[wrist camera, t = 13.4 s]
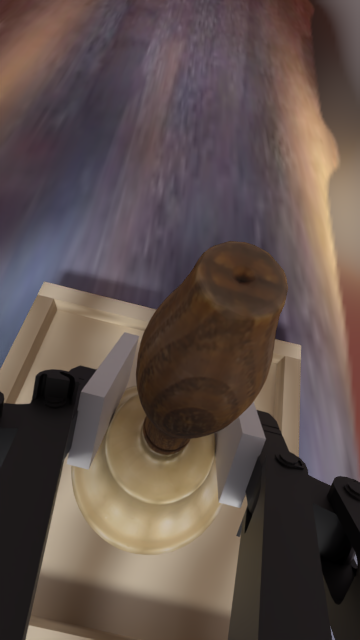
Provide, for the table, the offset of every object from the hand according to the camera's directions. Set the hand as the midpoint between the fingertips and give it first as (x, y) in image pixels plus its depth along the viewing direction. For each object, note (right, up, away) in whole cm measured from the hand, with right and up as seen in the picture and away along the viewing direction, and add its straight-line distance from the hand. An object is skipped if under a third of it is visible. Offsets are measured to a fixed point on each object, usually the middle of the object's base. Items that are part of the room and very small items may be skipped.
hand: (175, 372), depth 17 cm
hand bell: (-1, -5, +1) cm, 5 cm away
